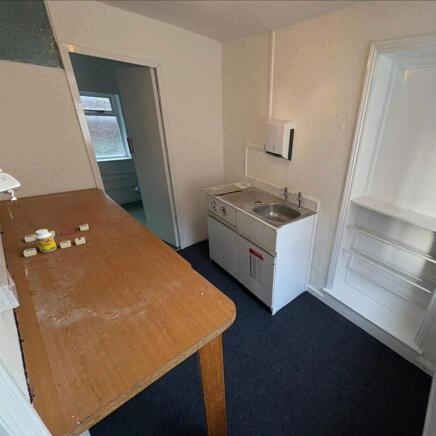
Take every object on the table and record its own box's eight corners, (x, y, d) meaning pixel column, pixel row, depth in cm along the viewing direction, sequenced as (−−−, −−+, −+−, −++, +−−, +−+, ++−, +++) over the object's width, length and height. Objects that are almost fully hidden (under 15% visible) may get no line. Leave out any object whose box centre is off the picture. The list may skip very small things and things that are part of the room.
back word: (25, 242, 115) (24, 239, 114) (26, 239, 119) (25, 235, 118) (89, 229, 131) (88, 226, 130) (88, 226, 134) (87, 223, 133)
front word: (25, 257, 104) (23, 252, 104) (26, 253, 107) (24, 249, 106) (85, 242, 118) (84, 239, 117) (85, 240, 120) (84, 236, 119)
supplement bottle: (39, 254, 107) (31, 234, 103) (42, 248, 111) (34, 229, 107) (56, 251, 110) (48, 231, 106) (58, 245, 114) (50, 227, 110)
